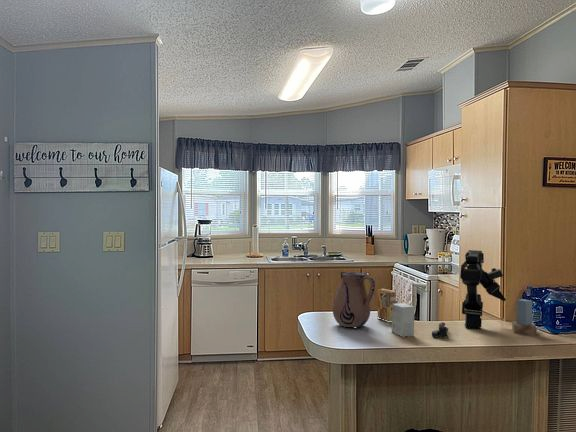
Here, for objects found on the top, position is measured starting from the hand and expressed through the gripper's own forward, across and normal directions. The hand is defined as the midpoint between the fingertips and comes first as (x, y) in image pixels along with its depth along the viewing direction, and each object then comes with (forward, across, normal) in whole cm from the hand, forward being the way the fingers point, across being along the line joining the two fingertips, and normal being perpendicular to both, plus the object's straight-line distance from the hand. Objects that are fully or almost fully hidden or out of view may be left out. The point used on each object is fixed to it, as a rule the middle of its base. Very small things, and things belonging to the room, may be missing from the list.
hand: (503, 298), depth 215 cm
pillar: (+13, -6, +1) cm, 14 cm away
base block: (+16, -6, +4) cm, 17 cm away
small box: (-22, -31, +42) cm, 56 cm away
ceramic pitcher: (-38, -26, +57) cm, 73 cm away
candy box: (-28, -9, +48) cm, 56 cm away
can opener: (-10, -24, +30) cm, 40 cm away
